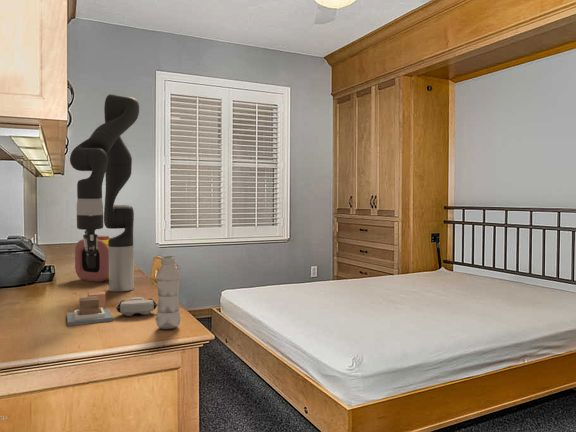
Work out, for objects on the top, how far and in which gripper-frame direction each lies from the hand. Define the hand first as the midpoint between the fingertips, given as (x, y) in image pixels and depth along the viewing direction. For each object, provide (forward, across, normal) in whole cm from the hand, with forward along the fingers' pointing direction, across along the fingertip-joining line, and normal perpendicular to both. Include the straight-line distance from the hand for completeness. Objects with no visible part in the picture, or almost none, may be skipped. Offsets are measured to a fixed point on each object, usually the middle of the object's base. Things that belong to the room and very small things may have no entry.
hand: (90, 265), depth 143 cm
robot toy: (+16, +3, +13) cm, 21 cm away
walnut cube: (+14, +5, -1) cm, 15 cm away
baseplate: (+15, +5, -1) cm, 16 cm away
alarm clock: (+17, -63, +7) cm, 66 cm away
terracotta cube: (+15, -8, +2) cm, 18 cm away
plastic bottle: (+15, +26, +18) cm, 35 cm away
